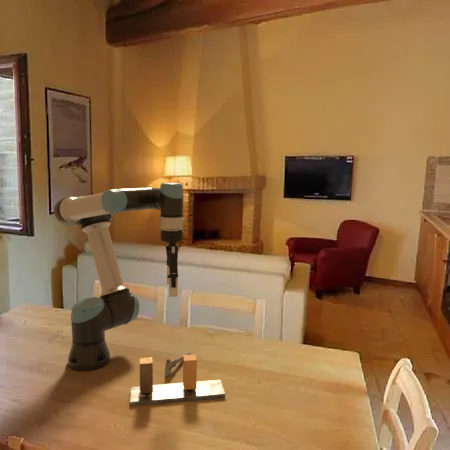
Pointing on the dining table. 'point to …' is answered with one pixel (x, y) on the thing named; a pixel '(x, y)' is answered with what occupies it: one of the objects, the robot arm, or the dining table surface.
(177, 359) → the caliper
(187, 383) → the slide leg
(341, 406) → the dining table surface
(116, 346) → the dining table surface
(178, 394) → the bar
